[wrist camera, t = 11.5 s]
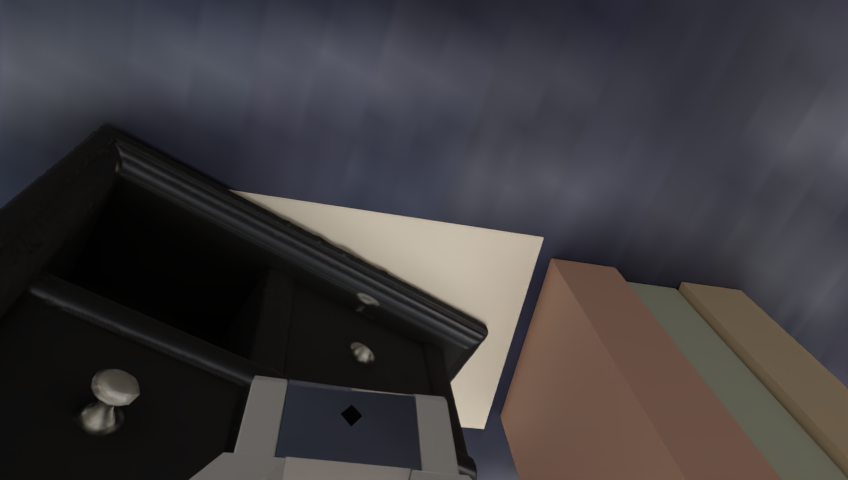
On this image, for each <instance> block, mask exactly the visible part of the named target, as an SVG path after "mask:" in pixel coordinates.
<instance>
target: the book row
mask: <svg viewBox="0 0 848 480" xmlns="http://www.w3.org/2000/svg"><path fill="white" fill-rule="evenodd" d="M500 417H501V420H502V423H503V427H504V430H505V433H506V437H507V440H508V443H509V446H510V450H511V453H512V456H513V460H514V463H515V466H516V470H517V473H518V476H519V479H520V480H848V388H847V387H846V386H844V385H843V384H842V383H841V382H840V381H839V380H838V379H837V378H836V377H835V376H834V375H833V374H831V373H830V372H829V371H828V370H827V369H826V368H825V367H824V366H823V365H822V364H821V363H819V362H818V361H817V360H816V359H815V358H814V357H813V356H812V355H811V354H810V353H809V352H808V351H806V350H805V349H804V348H803V347H802V346H801V345H800V344H799V343H798V342H797V341H796V340H794V339H793V338H792V337H791V336H790V335H789V334H788V333H787V332H786V331H785V330H784V329H783V328H781V327H780V326H779V325H778V324H777V323H776V322H775V321H774V320H773V319H772V318H771V317H769V316H768V315H767V314H766V313H765V312H764V311H763V310H762V309H761V308H760V307H759V306H758V305H756V304H755V303H754V302H753V301H752V300H751V299H750V298H749V297H748V296H747V295H746V294H744V293H743V292H742V291H741V290H736V289H729V288H722V287H715V286H708V285H701V284H694V283H687V282H681V284H680V287H679V289H678V291H677V290H676V289H675V288H668V287H661V286H654V285H647V284H640V283H633V282H626V280H625V279H624V278H623V277H622V275H621V274H620V273H619V271H618V270H617V269H616V268H615V267H608V266H601V265H594V264H588V263H581V262H574V261H567V260H560V259H553V258H551V260H550V263H549V266H548V269H547V272H546V276H545V279H544V282H543V285H542V288H541V291H540V294H539V297H538V300H537V303H536V307H535V310H534V313H533V316H532V319H531V322H530V325H529V328H528V331H527V334H526V337H525V341H524V344H523V347H522V350H521V353H520V356H519V359H518V362H517V365H516V368H515V372H514V375H513V378H512V381H511V384H510V387H509V390H508V393H507V396H506V399H505V402H504V406H503V409H502V412H501V415H500Z"/></svg>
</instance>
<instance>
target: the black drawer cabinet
mask: <svg viewBox="0 0 848 480" xmlns="http://www.w3.org/2000/svg"><path fill="white" fill-rule="evenodd" d="M487 335H488V329H487V327H486V325H484V324H483V323H481V322H479V321H477V320H476V319H474V318H472V317H470V316H468V315H466V314H464V313H462V312H461V311H459V310H456V309H454V308H453V307H451V306H449V305H447V304H445V303H443V302H441V301H439V300H437V299H435V298H433V297H432V296H430V295H428V294H426V293H424V292H422V291H420V290H418V289H416V288H415V287H412V286H410V285H409V284H407V283H405V282H402V281H401V280H399V279H397V278H395V277H393V276H391V275H389V274H388V273H387V272H386V271H383V270H380V269H378V268H376V267H374V266H372V265H370V264H368V263H366V262H365V261H363V260H361V259H360V258H357V257H355V256H353V255H351V254H350V253H348V252H346V251H344V250H342V249H340V248H338V247H336V246H334V245H332V244H330V243H329V242H327V241H326V240H324V239H323V238H321V237H320V236H317V235H313V234H312V233H310V232H308V231H306V230H304V229H303V228H301V227H299V226H297V225H295V224H292V223H291V222H290V221H288V220H285V219H283V218H281V217H279V216H277V215H275V214H274V213H272V212H270V211H268V210H266V209H264V208H262V207H260V206H258V205H256V204H254V203H252V202H250V201H248V200H247V199H245V198H243V197H241V196H239V195H237V194H235V193H234V192H232V191H230V190H228V189H226V188H224V187H222V186H220V185H219V184H217V183H215V182H213V181H211V180H209V179H207V178H205V177H203V176H201V175H199V174H197V173H196V172H194V171H192V170H190V169H189V168H186V167H184V166H182V165H180V164H178V163H177V162H175V161H173V160H170V159H169V158H167V157H165V156H163V155H161V154H159V153H158V152H156V151H154V150H152V149H150V148H148V147H146V146H144V145H142V144H140V143H138V142H136V141H134V140H132V139H130V138H128V137H126V136H124V135H122V134H121V133H119V132H117V131H115V130H112V129H110V128H108V127H106V126H101V127H100V129H98V130H97V131H95V132H93V133H92V134H91V135H90V136H89V138H87V139H86V140H85V141H84V142H82V143H81V144H80V145H78V146H77V147H75V148H74V150H73V151H71V152H70V153H69V154H67V155H66V156H65V157H64V158H63V159H61V160H60V161H59V162H58V163H57V164H55V165H54V166H53V167H52V168H51V169H49V170H47V172H46V173H45V174H43V175H42V176H40V177H39V178H37V179H36V180H35V181H34V182H33V183H31V184H30V185H29V186H28V187H27V188H25V189H24V190H23V191H22V192H20V193H19V194H18V195H17V196H16V197H14V198H13V199H12V200H11V201H10V202H8V203H7V204H6V205H5V206H4V207H2V208H1V209H0V480H189V479H191V478H192V477H193V476H194V475H196V474H197V473H198V472H199V471H201V470H202V469H203V468H204V467H206V466H207V465H208V464H209V463H211V462H212V461H213V460H215V459H216V458H217V457H218V456H220V455H221V454H222V453H234V450H235V446H236V443H237V439H238V435H239V431H240V427H241V423H242V419H243V415H244V411H245V407H246V404H247V400H248V396H249V392H250V388H251V384H252V381H253V379H254V377H255V376H264V377H271V378H279V379H287V380H288V382H289V379H290V380H297V381H304V382H312V383H319V384H326V385H334V386H341V387H348V388H354V389H364V390H373V391H382V392H391V393H401V394H410V395H413V394H418V395H429V396H441V397H444V398H445V399H446V401H447V405H448V410H449V416H450V422H451V428H452V434H453V440H454V446H455V452H456V458H457V464H458V470H459V475H467V476H469V477H470V478H471V479H472V480H477V470H476V465H475V463H474V461H473V459H472V458H471V457H470V456H468V454H467V450H466V446H465V441H464V437H463V432H462V428H461V424H460V420H459V416H458V412H457V408H456V404H455V399H454V396H453V392H452V388H451V381H452V380H453V379H454V378H455V377H456V375H457V374H458V373H459V371H460V370H461V369H462V367H463V366H464V365H465V364H466V362H467V361H468V360H469V359H470V357H471V356H472V355H473V354H474V353H475V351H476V350H477V349H478V347H479V346H480V345H481V343H482V342H483V341H484V340H485V339H486V337H487ZM287 388H288V385H287Z"/></svg>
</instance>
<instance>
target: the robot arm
mask: <svg viewBox="0 0 848 480" xmlns="http://www.w3.org/2000/svg"><path fill="white" fill-rule="evenodd" d="M287 385H288V388H287ZM189 480H472V479H471V478H470V477H469V476H467V475H459V470H458V464H457V458H456V452H455V446H454V440H453V434H452V428H451V422H450V416H449V410H448V405H447V401H446V399H445V398H444V397H441V396H429V395H418V394H413V395H410V394H401V393H391V392H382V391H373V390H364V389H354V388H348V387H341V386H334V385H326V384H319V383H312V382H304V381H297V380H290V379H289V382H288V380H287V379H279V378H271V377H264V376H255V377H254V379H253V381H252V384H251V388H250V392H249V396H248V400H247V404H246V407H245V411H244V415H243V419H242V423H241V427H240V431H239V435H238V439H237V443H236V446H235V450H234V453H222V454H221V455H220V456H218V457H217V458H216V459H215V460H213V461H212V462H211V463H209V464H208V465H207V466H206V467H204V468H203V469H202V470H201V471H199V472H198V473H197V474H196V475H194V476H193V477H192V478H191V479H189Z"/></svg>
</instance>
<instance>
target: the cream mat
mask: <svg viewBox="0 0 848 480" xmlns="http://www.w3.org/2000/svg"><path fill="white" fill-rule="evenodd" d="M230 191H232V192H234V193H235V194H237V195H239V196H241V197H243V198H245V199H247V200H248V201H250V202H252V203H254V204H256V205H258V206H260V207H262V208H264V209H266V210H268V211H270V212H272V213H274V214H275V215H277V216H279V217H281V218H283V219H285V220H288V221H290V222H291V223H292V224H295V225H297V226H299V227H301V228H303V229H304V230H306V231H308V232H310V233H312V234H313V235H317V236H320V237H321V238H323V239H324V240H326V241H327V242H329V243H330V244H332V245H334V246H336V247H338V248H340V249H342V250H344V251H346V252H348V253H350V254H351V255H353V256H355V257H357V258H360V259H361V260H363V261H365V262H366V263H368V264H370V265H372V266H374V267H376V268H378V269H380V270H383V271H386V272H387V273H388V274H389V275H391V276H393V277H395V278H397V279H399V280H401V281H402V282H405V283H407V284H409V285H410V286H412V287H415V288H416V289H418V290H420V291H422V292H424V293H426V294H428V295H430V296H432V297H433V298H435V299H437V300H439V301H441V302H443V303H445V304H447V305H449V306H451V307H453V308H454V309H456V310H459V311H461V312H462V313H464V314H466V315H468V316H470V317H472V318H474V319H476V320H477V321H479V322H481V323H483V324H484V325H486V327H487V329H488V335H487V337H486V339H485V340H484V341H483V342H482V343H481V345H480V346H479V347H478V349H477V350H476V351H475V353H474V354H473V355H472V356H471V357H470V359H469V360H468V361H467V362H466V364H465V365H464V366H463V367H462V369H461V370H460V371H459V373H458V374H457V375H456V377H455V378H454V379H453V380H452V381H451V388H452V392H453V396H454V399H455V404H456V408H457V412H458V416H459V420H460V424H461V427H468V428H478V429H484V427H485V424H486V421H487V417H488V414H489V411H490V408H491V405H492V401H493V398H494V395H495V392H496V389H497V385H498V382H499V379H500V376H501V373H502V370H503V366H504V363H505V360H506V357H507V354H508V350H509V347H510V344H511V341H512V338H513V334H514V331H515V328H516V325H517V322H518V318H519V315H520V312H521V309H522V306H523V302H524V299H525V296H526V293H527V290H528V286H529V283H530V280H531V277H532V274H533V270H534V267H535V264H536V261H537V258H538V254H539V251H540V248H541V245H542V242H543V239H544V237H539V236H533V235H526V234H519V233H513V232H506V231H499V230H493V229H486V228H480V227H473V226H466V225H460V224H453V223H446V222H440V221H433V220H427V219H420V218H413V217H407V216H400V215H393V214H387V213H380V212H373V211H367V210H360V209H354V208H347V207H340V206H334V205H327V204H320V203H314V202H307V201H301V200H294V199H287V198H281V197H274V196H267V195H261V194H254V193H248V192H241V191H234V190H230Z"/></svg>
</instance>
